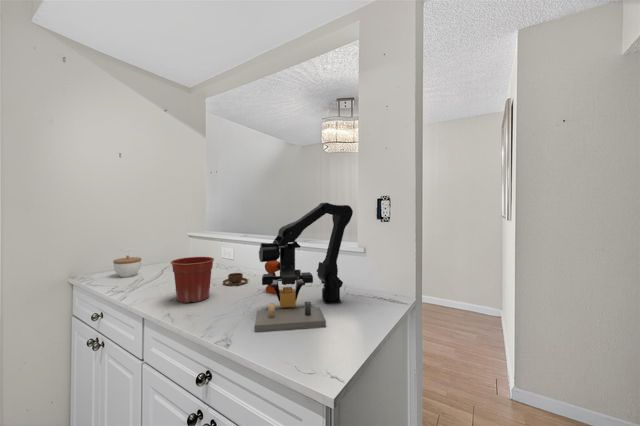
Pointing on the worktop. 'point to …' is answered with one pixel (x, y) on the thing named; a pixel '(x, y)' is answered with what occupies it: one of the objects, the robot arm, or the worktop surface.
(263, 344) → the worktop surface
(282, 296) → the orange knobbed cube
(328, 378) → the worktop surface
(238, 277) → the brown cup and saucer
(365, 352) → the worktop surface
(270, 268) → the toy drill
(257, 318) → the grey peg board
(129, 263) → the lidded bowl
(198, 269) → the flower pot
